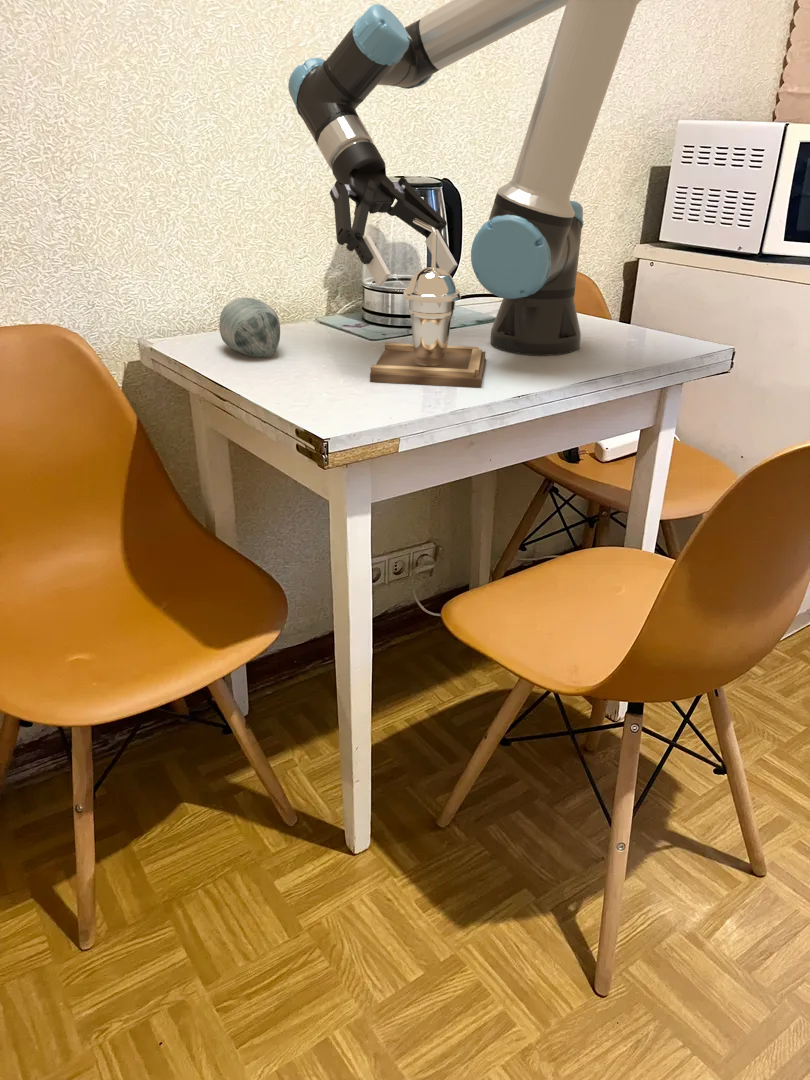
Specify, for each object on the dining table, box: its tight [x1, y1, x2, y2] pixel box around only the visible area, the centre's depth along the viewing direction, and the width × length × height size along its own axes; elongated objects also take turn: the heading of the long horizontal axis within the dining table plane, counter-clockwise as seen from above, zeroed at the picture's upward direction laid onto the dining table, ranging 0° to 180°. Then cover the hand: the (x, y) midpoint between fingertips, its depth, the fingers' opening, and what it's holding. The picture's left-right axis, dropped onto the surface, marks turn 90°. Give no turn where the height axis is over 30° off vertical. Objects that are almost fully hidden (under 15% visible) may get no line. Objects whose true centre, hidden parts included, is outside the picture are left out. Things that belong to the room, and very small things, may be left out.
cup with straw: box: [402, 218, 462, 366], centre depth 120 cm, size 8×9×20 cm
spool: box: [218, 296, 281, 359], centre depth 132 cm, size 14×10×10 cm
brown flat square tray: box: [369, 342, 486, 389], centre depth 124 cm, size 16×16×2 cm
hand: (419, 275), depth 120 cm, fingers open, 13 cm apart
